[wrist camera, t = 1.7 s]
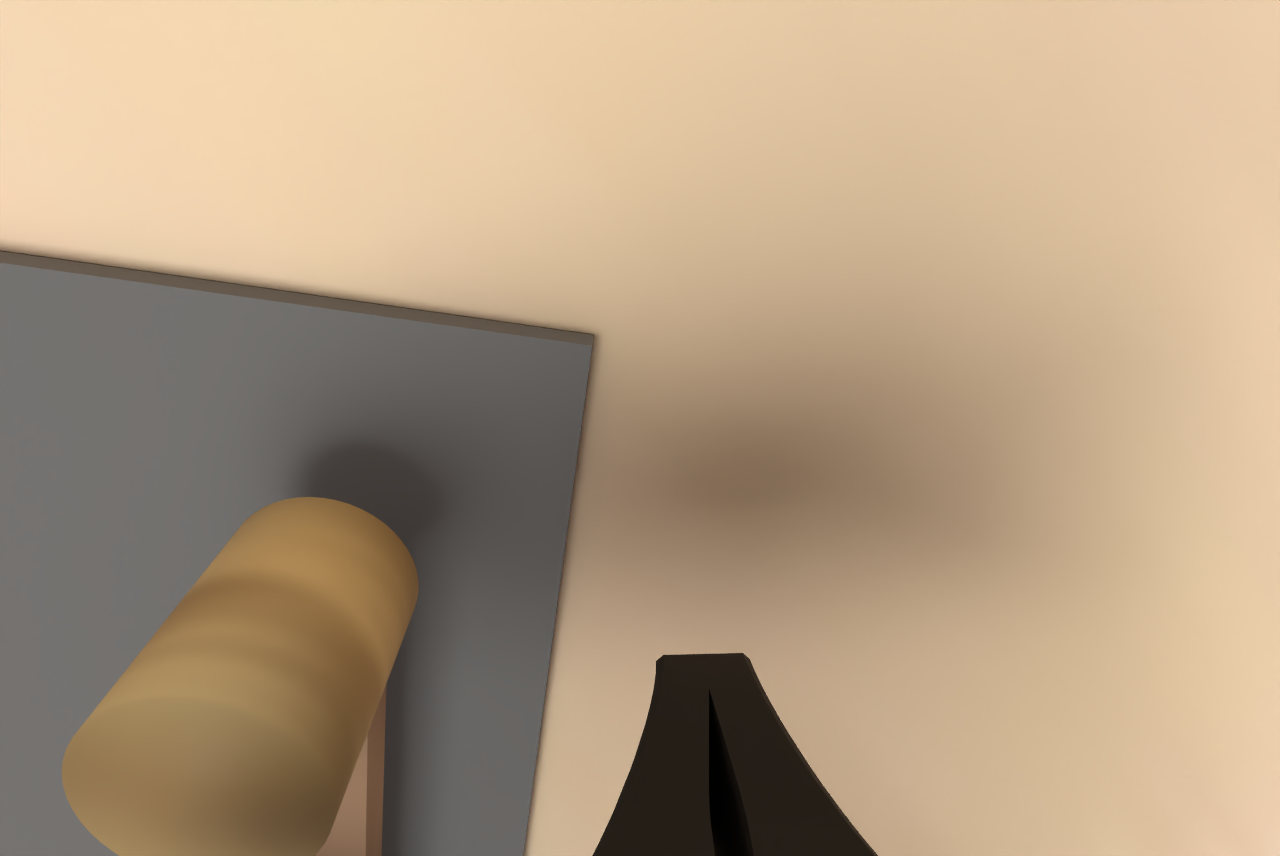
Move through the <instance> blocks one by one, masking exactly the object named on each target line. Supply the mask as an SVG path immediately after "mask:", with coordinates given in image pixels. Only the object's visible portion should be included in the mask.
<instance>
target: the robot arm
mask: <svg viewBox="0 0 1280 856" xmlns="http://www.w3.org/2000/svg"><path fill="white" fill-rule="evenodd" d="M593 856H878V855H877V854H876V853H875V852H874V850H873V849H872V848H871V847H870V846H869V844H868V843H867V842H866V841H865V840H864V839H863V837H862V836H861V835H860V834H859V832H858V831H857V830H856V829H855V827H854V826H853V825H852V824H851V822H850V821H849V820H848V818H847V817H846V816H845V814H844V813H843V812H842V811H841V809H840V808H839V807H838V805H837V804H836V802H835V801H834V800H833V798H832V797H831V796H830V794H829V793H828V792H827V790H826V789H825V787H824V786H823V785H822V783H821V782H820V780H819V779H818V778H817V776H816V775H815V773H814V772H813V770H812V769H811V767H810V766H809V764H808V763H807V761H806V760H805V758H804V757H803V755H802V754H801V752H800V750H799V749H798V747H797V746H796V744H795V743H794V741H793V740H792V738H791V736H790V735H789V733H788V732H787V730H786V728H785V727H784V725H783V723H782V722H781V720H780V718H779V716H778V715H777V713H776V711H775V709H774V708H773V706H772V704H771V702H770V701H769V699H768V697H767V695H766V693H765V691H764V689H763V687H762V685H761V683H760V681H759V679H758V677H757V675H756V673H755V671H754V668H753V666H752V664H751V661H750V659H749V658H748V657H747V656H746V655H744V654H743V653H727V654H687V655H663V656H662V657H661V658H659V659H658V660H657V661H656V676H655V684H654V690H653V695H652V700H651V704H650V708H649V712H648V716H647V720H646V724H645V727H644V730H643V733H642V736H641V740H640V743H639V746H638V749H637V752H636V755H635V758H634V761H633V764H632V767H631V769H630V772H629V774H628V777H627V779H626V782H625V784H624V787H623V789H622V792H621V794H620V797H619V799H618V802H617V804H616V807H615V809H614V811H613V814H612V816H611V818H610V820H609V823H608V825H607V827H606V829H605V831H604V833H603V836H602V838H601V840H600V842H599V844H598V846H597V848H596V850H595V852H594V854H593Z"/></svg>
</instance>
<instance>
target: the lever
mask: <svg viewBox="0 0 1280 856" xmlns="http://www.w3.org/2000/svg"><path fill="white" fill-rule="evenodd" d="M418 591H419V585H418V575H417V570H416V567H415V564H414V561H413V559H412V557H411V555H410V553H409V551H408V549H407V548H406V546H405V545H404V543H403V542H402V541H401V539H400V538H399V537H398V536H397V535H396V534H395V533H394V532H393V530H391V529H390V528H389V527H388V526H387V525H386V524H384V523H383V522H382V521H380V520H379V519H378V518H376V517H375V516H373V515H371V514H370V513H368V512H366V511H364V510H362V509H360V508H358V507H355V506H353V505H350V504H348V503H344V502H341V501H337V500H332V499H327V498H318V497H297V498H291V499H285V500H282V501H278V502H275V503H272V504H270V505H268V506H265V507H263V508H261V509H260V510H258V511H257V512H255V513H253V514H252V515H251V516H250V517H249V518H248V519H246V520H245V521H244V522H243V524H242V525H241V526H240V527H239V529H238V530H237V531H236V532H235V534H234V535H233V536H232V537H231V539H230V540H229V541H228V542H227V544H226V545H225V546H224V547H223V549H222V550H221V551H220V552H219V554H218V555H217V556H216V557H215V559H214V560H213V561H212V562H211V564H210V565H209V566H208V567H207V569H206V570H205V571H204V573H203V574H202V575H201V576H200V578H199V579H198V580H197V581H196V583H195V584H194V585H193V586H192V588H191V589H190V590H189V591H188V593H187V594H186V595H185V596H184V598H183V599H182V600H181V601H180V603H179V604H178V605H177V606H176V608H175V609H174V610H173V612H172V613H171V614H170V615H169V617H168V618H167V619H166V620H165V622H164V623H163V624H162V625H161V627H160V628H159V629H158V630H157V632H156V633H155V634H154V635H153V637H152V638H151V639H150V640H149V642H148V643H147V644H146V645H145V647H144V648H143V649H142V651H141V652H140V653H139V654H138V656H137V657H136V658H135V659H134V661H133V662H132V663H131V664H130V666H129V667H128V668H127V669H126V671H125V672H124V673H123V674H122V676H121V677H120V678H119V679H118V681H117V682H116V683H115V684H114V686H113V687H112V688H111V689H110V691H109V692H108V693H107V695H106V696H105V697H104V698H103V700H102V701H101V702H100V703H99V705H98V706H97V707H96V708H95V710H94V711H93V712H92V713H91V715H90V716H89V717H88V718H87V720H86V721H85V722H84V723H83V725H82V726H81V727H80V728H79V730H78V731H77V732H76V734H75V735H74V736H73V737H72V739H71V741H70V743H69V744H68V746H67V748H66V751H65V754H64V757H63V762H62V782H63V787H64V791H65V794H66V797H67V800H68V802H69V804H70V806H71V808H72V810H73V811H74V813H75V814H76V816H77V817H78V819H79V820H80V822H81V823H82V824H83V825H84V826H85V827H86V829H87V830H88V831H89V832H90V833H91V834H92V835H93V836H94V837H95V838H96V839H98V840H99V841H100V842H101V843H102V844H103V845H105V846H106V847H107V848H109V849H110V850H111V851H113V852H114V853H116V854H117V855H119V856H382V821H383V786H384V752H385V717H386V683H387V680H388V678H389V675H390V672H391V670H392V667H393V664H394V662H395V659H396V657H397V654H398V651H399V649H400V646H401V643H402V641H403V638H404V635H405V633H406V630H407V627H408V625H409V622H410V619H411V617H412V614H413V611H414V609H415V605H416V602H417V598H418Z"/></svg>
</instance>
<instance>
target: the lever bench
mask: <svg viewBox="0 0 1280 856" xmlns="http://www.w3.org/2000/svg"><path fill="white" fill-rule="evenodd" d="M593 336H594V335H591V334H584V333H577V332H570V331H563V330H556V329H549V328H542V327H534V326H527V325H520V324H513V323H506V322H499V321H492V320H485V319H478V318H471V317H464V316H457V315H450V314H442V313H435V312H428V311H421V310H414V309H407V308H400V307H393V306H386V305H379V304H372V303H365V302H358V301H350V300H343V299H336V298H329V297H322V296H315V295H308V294H301V293H294V292H287V291H280V290H273V289H266V288H258V287H251V286H244V285H237V284H230V283H223V282H216V281H209V280H202V279H195V278H188V277H181V276H173V275H166V274H159V273H152V272H145V271H138V270H131V269H124V268H117V267H110V266H103V265H96V264H89V263H81V262H74V261H67V260H60V259H53V258H46V257H39V256H32V255H25V254H18V253H11V252H4V251H0V856H119V855H117V854H116V853H114V852H113V851H111V850H110V849H109V848H107V847H106V846H105V845H103V844H102V843H101V842H100V841H99V840H98V839H96V838H95V837H94V836H93V835H92V834H91V833H90V832H89V831H88V830H87V829H86V827H85V826H84V825H83V824H82V823H81V822H80V820H79V819H78V817H77V816H76V814H75V813H74V811H73V810H72V808H71V806H70V804H69V802H68V800H67V797H66V794H65V791H64V787H63V782H62V762H63V757H64V754H65V751H66V748H67V746H68V744H69V743H70V741H71V739H72V737H73V736H74V735H75V734H76V732H77V731H78V730H79V728H80V727H81V726H82V725H83V723H84V722H85V721H86V720H87V718H88V717H89V716H90V715H91V713H92V712H93V711H94V710H95V708H96V707H97V706H98V705H99V703H100V702H101V701H102V700H103V698H104V697H105V696H106V695H107V693H108V692H109V691H110V689H111V688H112V687H113V686H114V684H115V683H116V682H117V681H118V679H119V678H120V677H121V676H122V674H123V673H124V672H125V671H126V669H127V668H128V667H129V666H130V664H131V663H132V662H133V661H134V659H135V658H136V657H137V656H138V654H139V653H140V652H141V651H142V649H143V648H144V647H145V645H146V644H147V643H148V642H149V640H150V639H151V638H152V637H153V635H154V634H155V633H156V632H157V630H158V629H159V628H160V627H161V625H162V624H163V623H164V622H165V620H166V619H167V618H168V617H169V615H170V614H171V613H172V612H173V610H174V609H175V608H176V606H177V605H178V604H179V603H180V601H181V600H182V599H183V598H184V596H185V595H186V594H187V593H188V591H189V590H190V589H191V588H192V586H193V585H194V584H195V583H196V581H197V580H198V579H199V578H200V576H201V575H202V574H203V573H204V571H205V570H206V569H207V567H208V566H209V565H210V564H211V562H212V561H213V560H214V559H215V557H216V556H217V555H218V554H219V552H220V551H221V550H222V549H223V547H224V546H225V545H226V544H227V542H228V541H229V540H230V539H231V537H232V536H233V535H234V534H235V532H236V531H237V530H238V529H239V527H240V526H241V525H242V524H243V522H244V521H245V520H246V519H248V518H249V517H250V516H251V515H252V514H253V513H255V512H257V511H258V510H260V509H261V508H263V507H265V506H268V505H270V504H272V503H275V502H278V501H282V500H285V499H291V498H297V497H318V498H327V499H332V500H337V501H341V502H344V503H348V504H350V505H353V506H355V507H358V508H360V509H362V510H364V511H366V512H368V513H370V514H371V515H373V516H375V517H376V518H378V519H379V520H380V521H382V522H383V523H384V524H386V525H387V526H388V527H389V528H390V529H391V530H393V532H394V533H395V534H396V535H397V536H398V537H399V538H400V539H401V541H402V542H403V543H404V545H405V546H406V548H407V549H408V551H409V553H410V555H411V557H412V559H413V561H414V564H415V567H416V570H417V575H418V585H419V591H418V598H417V602H416V605H415V609H414V611H413V614H412V617H411V619H410V622H409V625H408V627H407V630H406V633H405V635H404V638H403V641H402V643H401V646H400V649H399V651H398V654H397V657H396V659H395V662H394V664H393V667H392V670H391V672H390V675H389V678H388V680H387V683H386V717H385V752H384V786H383V821H382V856H523V854H524V847H525V839H526V832H527V824H528V817H529V810H530V802H531V795H532V787H533V780H534V773H535V765H536V758H537V751H538V743H539V736H540V728H541V721H542V714H543V706H544V699H545V691H546V684H547V677H548V669H549V662H550V655H551V647H552V640H553V632H554V625H555V618H556V610H557V603H558V595H559V588H560V581H561V573H562V566H563V558H564V551H565V544H566V536H567V529H568V522H569V514H570V507H571V499H572V492H573V485H574V477H575V470H576V462H577V455H578V448H579V440H580V433H581V426H582V418H583V411H584V403H585V396H586V389H587V381H588V374H589V366H590V359H591V352H592V344H593Z"/></svg>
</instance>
